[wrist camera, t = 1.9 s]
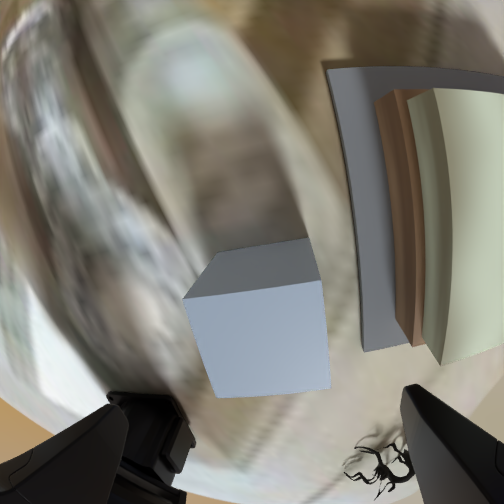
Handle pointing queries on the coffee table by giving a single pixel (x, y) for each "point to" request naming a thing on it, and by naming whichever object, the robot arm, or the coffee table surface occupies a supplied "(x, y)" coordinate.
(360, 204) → the grey square plate
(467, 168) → the plinth
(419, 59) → the coffee table surface
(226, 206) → the coffee table surface
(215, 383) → the top block
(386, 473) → the creature
